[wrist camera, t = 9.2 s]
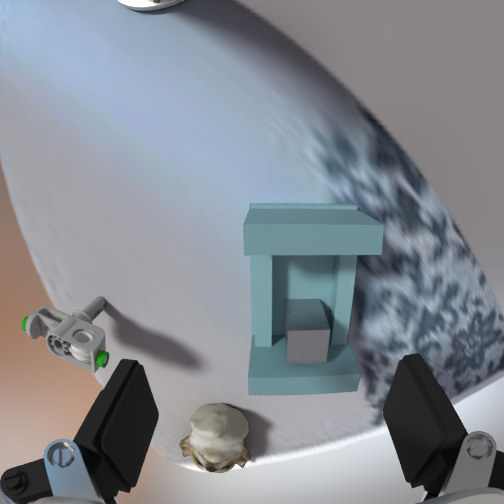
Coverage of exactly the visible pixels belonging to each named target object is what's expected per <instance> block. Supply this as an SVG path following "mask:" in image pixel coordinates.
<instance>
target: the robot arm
mask: <svg viewBox="0 0 504 504" xmlns="http://www.w3.org/2000/svg"><path fill="white" fill-rule="evenodd" d="M117 1H118V2H119V3H120V4H122V5H123V6H125V7H126V8H129V9H132V10H139V11H152V10H157V9H163V8H166V7H169V6H173V5H175V4H178V3H180V2H182V1H185V0H117ZM383 415H384V418H385V421H386V424H387V426H388V429H389V432H390V435H391V438H392V440H393V443H394V446H395V449H396V452H397V455H398V458H399V461H400V464H401V467H402V470H403V473H404V476H405V480H406V482H408V483H410V484H411V487H412V488H415V487H418V486H421V485H423V486H424V489H425V493H424V495H423V497H422V499H421V501H420V503H417V504H504V453H503V452H500V451H498V450H496V442H495V440H494V439H493V437H492V436H491V435H489V434H488V433H485V432H482V431H476V432H472V433H470V434H468V433H467V431H466V429H465V427H464V425H463V423H462V422H461V420H460V418H459V416H458V415H457V413H456V411H455V409H454V407H453V406H452V404H451V402H450V400H449V399H448V397H447V395H446V394H445V392H444V390H443V389H442V387H441V386H440V385H439V383H438V382H437V380H436V379H435V377H434V375H433V374H432V372H431V370H430V369H429V367H428V366H427V364H426V362H425V361H424V359H423V358H422V356H421V355H420V354H419V353H417V354H411V355H405V356H404V357H403V359H402V360H400V361H399V363H398V366H397V369H396V373H395V376H394V379H393V382H392V385H391V388H390V391H389V394H388V396H387V399H386V402H385V405H384V408H383ZM158 417H159V413H158V409H157V406H156V404H155V401H154V398H153V395H152V392H151V389H150V386H149V383H148V380H147V377H146V374H145V371H144V367H143V365H140V364H139V362H138V361H137V360H129V359H122V360H121V361H120V362H119V364H118V366H117V367H116V369H115V371H114V373H113V374H112V376H111V378H110V379H109V381H108V383H107V385H106V386H105V388H104V390H102V391H101V392H100V393H99V395H98V397H97V398H96V400H95V402H94V404H93V405H92V407H91V409H90V411H89V413H88V414H87V416H86V418H85V420H84V421H83V423H82V425H81V427H80V429H79V431H78V432H77V434H76V436H75V438H74V440H73V441H70V440H68V439H58V440H55V441H53V442H51V443H50V444H49V445H48V446H47V447H46V449H45V451H44V458H42V459H39V460H36V461H33V462H30V463H27V464H24V465H20V466H17V467H14V468H11V469H8V470H6V471H5V472H4V473H3V475H2V477H1V480H0V504H120V503H119V502H118V499H117V498H116V496H117V494H118V491H119V490H120V491H124V492H127V493H130V490H131V487H135V486H136V484H137V481H138V478H139V475H140V472H141V468H142V466H143V463H144V460H145V457H146V453H147V451H148V448H149V445H150V442H151V439H152V436H153V433H154V430H155V427H156V424H157V422H158Z"/></svg>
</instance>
